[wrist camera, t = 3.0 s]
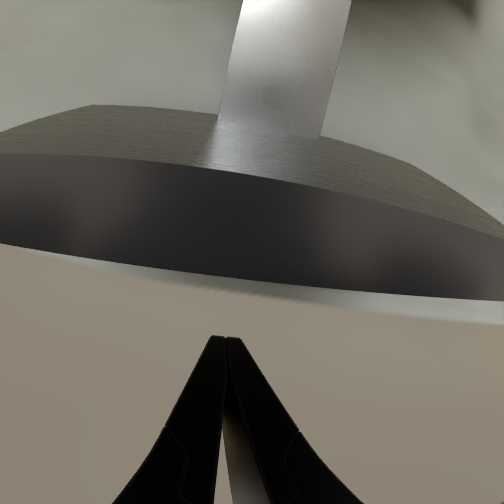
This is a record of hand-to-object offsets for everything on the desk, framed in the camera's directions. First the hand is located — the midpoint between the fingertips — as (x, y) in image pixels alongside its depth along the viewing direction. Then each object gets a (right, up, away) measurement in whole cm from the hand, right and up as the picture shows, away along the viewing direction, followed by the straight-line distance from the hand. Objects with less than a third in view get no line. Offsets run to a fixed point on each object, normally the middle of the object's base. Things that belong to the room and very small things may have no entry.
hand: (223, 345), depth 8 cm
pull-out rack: (+3, +12, -5) cm, 13 cm away
